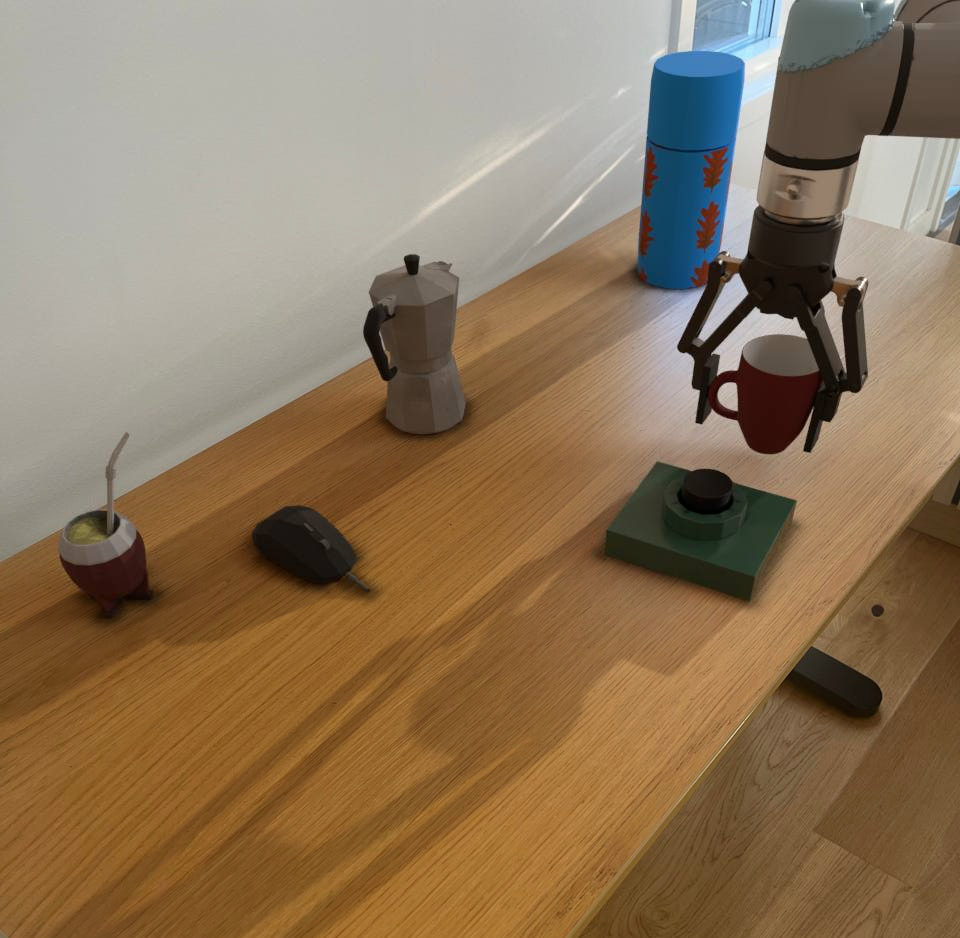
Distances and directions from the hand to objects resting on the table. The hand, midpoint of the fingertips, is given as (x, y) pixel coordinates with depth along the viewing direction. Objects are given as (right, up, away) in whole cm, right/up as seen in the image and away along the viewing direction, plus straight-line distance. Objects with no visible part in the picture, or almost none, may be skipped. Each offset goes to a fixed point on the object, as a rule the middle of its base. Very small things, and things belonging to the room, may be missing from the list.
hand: (755, 431), depth 96 cm
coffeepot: (-35, +4, +10) cm, 36 cm away
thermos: (-1, +29, +33) cm, 44 cm away
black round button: (-8, -9, -10) cm, 15 cm away
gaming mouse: (-44, -14, -6) cm, 46 cm away
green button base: (-7, -12, -7) cm, 15 cm away
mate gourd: (-61, -17, -8) cm, 64 cm away
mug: (0, -1, +1) cm, 2 cm away
